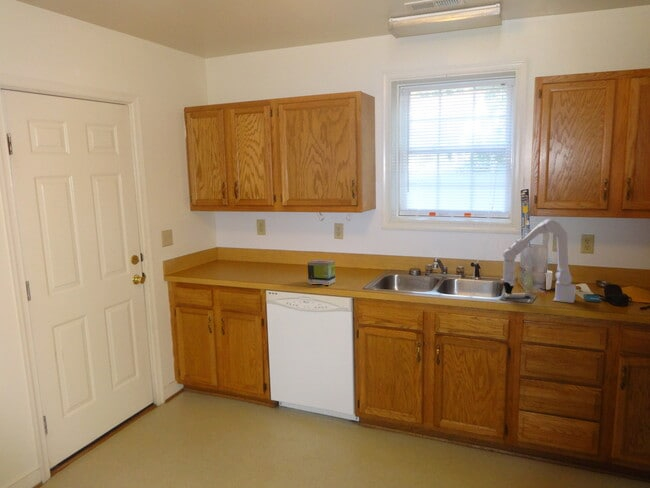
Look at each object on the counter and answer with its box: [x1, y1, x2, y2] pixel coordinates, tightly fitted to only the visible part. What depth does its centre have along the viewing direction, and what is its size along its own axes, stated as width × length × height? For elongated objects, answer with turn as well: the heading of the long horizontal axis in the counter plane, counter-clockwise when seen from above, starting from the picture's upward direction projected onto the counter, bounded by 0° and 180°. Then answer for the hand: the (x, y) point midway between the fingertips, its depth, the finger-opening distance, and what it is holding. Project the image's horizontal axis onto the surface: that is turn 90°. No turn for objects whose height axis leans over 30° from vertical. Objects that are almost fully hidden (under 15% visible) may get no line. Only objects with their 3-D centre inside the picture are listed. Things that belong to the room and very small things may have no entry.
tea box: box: [307, 259, 336, 285], centre depth 304 cm, size 15×10×15 cm, turn 63°
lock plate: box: [499, 292, 537, 304], centre depth 258 cm, size 16×15×1 cm
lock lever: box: [504, 292, 531, 299], centre depth 257 cm, size 14×4×2 cm, turn 94°
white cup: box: [545, 269, 554, 291], centre depth 275 cm, size 8×8×10 cm
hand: (508, 295), depth 258 cm, fingers closed
